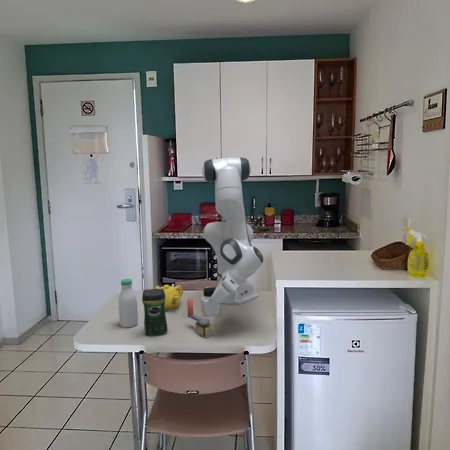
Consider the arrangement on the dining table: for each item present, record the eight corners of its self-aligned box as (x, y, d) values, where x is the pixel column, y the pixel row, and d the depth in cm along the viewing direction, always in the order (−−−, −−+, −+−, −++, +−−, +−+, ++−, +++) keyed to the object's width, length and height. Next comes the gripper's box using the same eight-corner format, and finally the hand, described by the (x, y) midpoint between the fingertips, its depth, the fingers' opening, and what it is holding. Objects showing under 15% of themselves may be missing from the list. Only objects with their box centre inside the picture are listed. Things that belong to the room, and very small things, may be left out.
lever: (212, 323, 174) (211, 305, 173) (203, 326, 171) (202, 308, 170) (193, 314, 184) (192, 297, 183) (184, 317, 181) (184, 299, 180)
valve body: (194, 331, 177) (194, 322, 176) (204, 328, 180) (204, 319, 179) (205, 338, 170) (205, 328, 170) (215, 334, 173) (215, 325, 173)
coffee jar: (167, 327, 182) (165, 285, 178) (167, 335, 174) (165, 291, 171) (144, 329, 180) (141, 287, 177) (143, 337, 173) (141, 293, 169)
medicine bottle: (220, 314, 195) (219, 289, 193) (205, 316, 193) (204, 291, 191) (216, 309, 202) (215, 284, 200) (201, 311, 200) (200, 286, 198)
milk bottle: (137, 327, 183) (135, 282, 179) (119, 328, 182) (116, 283, 178) (138, 320, 190) (135, 277, 187) (120, 321, 189) (117, 278, 186)
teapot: (140, 306, 208) (139, 284, 206) (172, 298, 218) (171, 277, 216) (161, 318, 192) (159, 294, 190) (194, 309, 203) (193, 286, 201)
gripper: (229, 267, 187) (208, 288, 190) (223, 281, 167) (199, 304, 170) (240, 277, 187) (218, 298, 190) (234, 292, 167) (210, 315, 170)
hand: (209, 301), depth 180 cm, fingers closed
